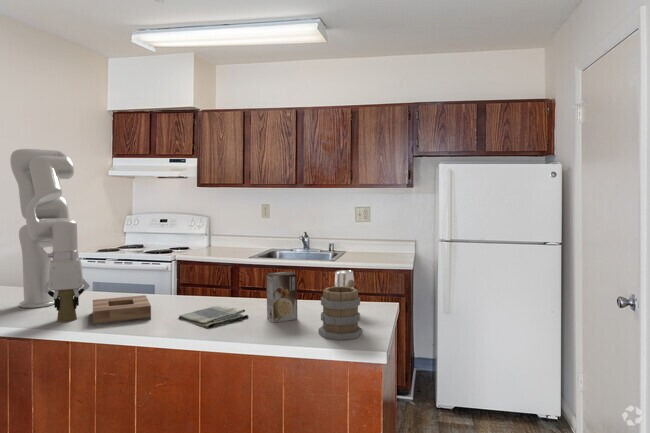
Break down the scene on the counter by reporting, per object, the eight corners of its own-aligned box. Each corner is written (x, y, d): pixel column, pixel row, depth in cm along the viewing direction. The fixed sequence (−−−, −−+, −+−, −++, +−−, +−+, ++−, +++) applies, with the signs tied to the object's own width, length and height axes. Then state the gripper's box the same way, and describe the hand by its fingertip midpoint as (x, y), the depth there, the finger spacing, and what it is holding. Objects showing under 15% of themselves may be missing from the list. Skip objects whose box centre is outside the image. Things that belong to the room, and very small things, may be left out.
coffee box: (290, 315, 170) (290, 270, 169) (297, 319, 165) (297, 273, 164) (266, 318, 166) (266, 272, 165) (272, 323, 160) (272, 275, 160)
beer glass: (356, 311, 177) (356, 270, 176) (349, 315, 170) (349, 273, 170) (339, 309, 180) (339, 269, 179) (331, 313, 173) (331, 272, 173)
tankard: (352, 342, 141) (353, 292, 140) (313, 337, 145) (313, 288, 145) (372, 324, 159) (373, 280, 158) (337, 320, 164) (337, 277, 163)
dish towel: (176, 320, 165) (176, 311, 165) (219, 310, 179) (219, 302, 179) (208, 330, 153) (208, 321, 153) (251, 319, 167) (251, 310, 167)
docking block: (93, 312, 173) (92, 299, 172) (145, 307, 181) (145, 295, 180) (93, 325, 157) (92, 311, 156) (151, 319, 164) (150, 305, 164)
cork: (68, 322, 160) (67, 290, 160) (52, 321, 161) (51, 289, 161) (80, 317, 166) (80, 286, 166) (65, 316, 167) (65, 285, 167)
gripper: (35, 259, 155) (37, 314, 157) (93, 256, 163) (94, 308, 164) (37, 256, 162) (39, 308, 163) (92, 253, 170) (94, 304, 171)
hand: (66, 308), depth 164 cm, fingers closed on cork, 4 cm apart
